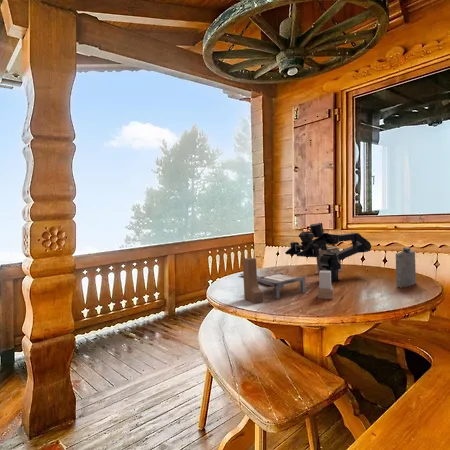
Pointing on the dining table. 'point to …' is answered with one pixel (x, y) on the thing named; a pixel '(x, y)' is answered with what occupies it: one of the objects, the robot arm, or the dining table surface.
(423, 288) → the dining table surface
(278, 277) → the trapdoor
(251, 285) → the wooden block
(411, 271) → the flask
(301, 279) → the frame
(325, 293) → the stand
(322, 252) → the mineral sample
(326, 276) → the gray rectangular block
